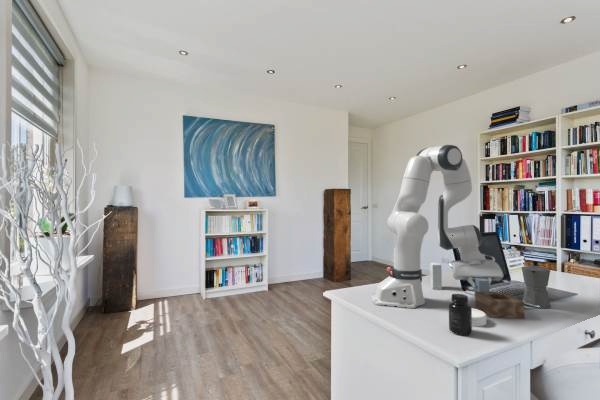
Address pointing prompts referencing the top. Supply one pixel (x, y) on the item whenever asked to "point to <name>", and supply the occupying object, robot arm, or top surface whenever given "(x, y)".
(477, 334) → the top surface
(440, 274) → the skincare box
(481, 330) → the top surface
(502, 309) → the socket block
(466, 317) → the supplement bottle
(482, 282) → the square peg
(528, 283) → the coffeepot
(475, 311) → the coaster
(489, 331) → the top surface
